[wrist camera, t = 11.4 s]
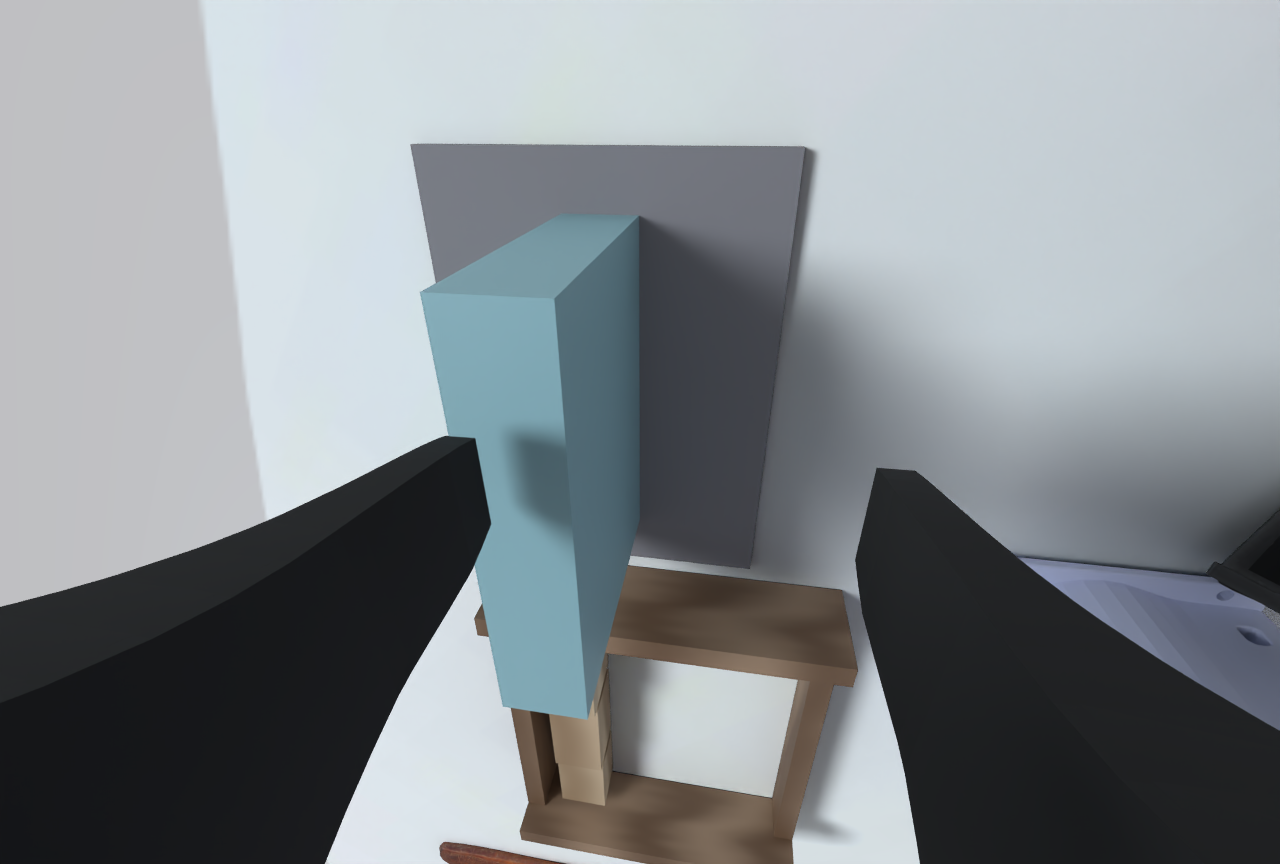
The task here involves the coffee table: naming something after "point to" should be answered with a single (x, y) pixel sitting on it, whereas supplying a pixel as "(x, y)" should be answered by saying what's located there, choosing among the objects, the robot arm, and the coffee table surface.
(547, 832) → the rack
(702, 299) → the mat
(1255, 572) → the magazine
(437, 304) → the teal rectangular block
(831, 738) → the coffee table surface
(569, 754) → the offcuts
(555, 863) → the wooden tablet
